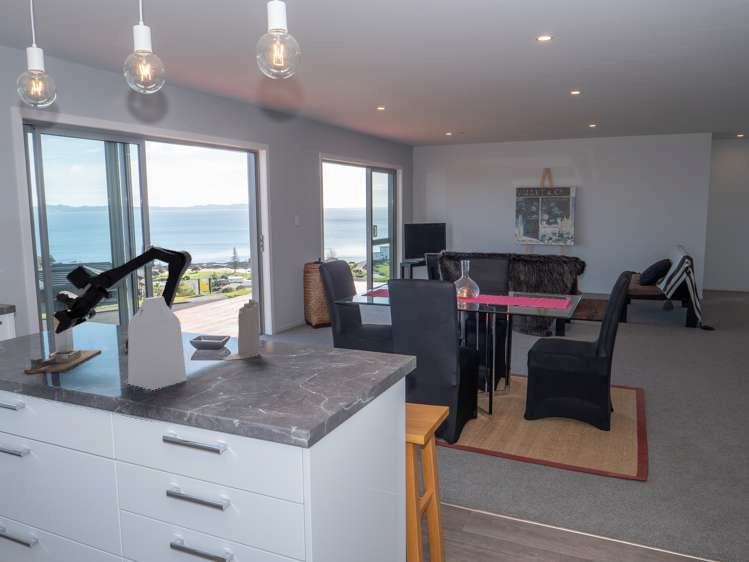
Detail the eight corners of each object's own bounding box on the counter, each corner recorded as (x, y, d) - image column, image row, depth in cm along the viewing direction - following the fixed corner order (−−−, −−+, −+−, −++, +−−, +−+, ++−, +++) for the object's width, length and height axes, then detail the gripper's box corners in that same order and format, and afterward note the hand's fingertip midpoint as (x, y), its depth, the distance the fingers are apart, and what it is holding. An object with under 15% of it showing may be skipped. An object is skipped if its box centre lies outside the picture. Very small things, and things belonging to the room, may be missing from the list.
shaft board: (101, 352, 209) (100, 342, 209) (65, 372, 183) (64, 360, 183) (65, 353, 209) (64, 342, 208) (24, 373, 183) (23, 360, 182)
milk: (152, 390, 164) (148, 301, 161) (128, 384, 170) (123, 298, 167) (186, 380, 174) (182, 296, 171) (162, 374, 180) (158, 293, 177)
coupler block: (73, 349, 197) (71, 312, 196) (67, 351, 193) (65, 314, 192) (62, 349, 197) (59, 312, 196) (55, 352, 193) (53, 314, 192)
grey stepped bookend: (218, 357, 201) (216, 302, 199) (253, 351, 210) (252, 298, 208) (228, 361, 196) (226, 304, 194) (263, 355, 205) (262, 300, 203)
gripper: (84, 279, 202) (55, 311, 203) (57, 286, 184) (25, 320, 184) (108, 301, 203) (79, 332, 204) (83, 310, 185) (52, 344, 186)
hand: (59, 331), depth 195 cm, fingers closed on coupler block, 4 cm apart
